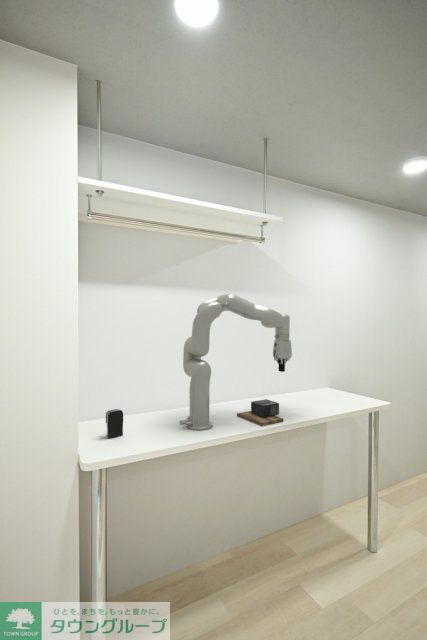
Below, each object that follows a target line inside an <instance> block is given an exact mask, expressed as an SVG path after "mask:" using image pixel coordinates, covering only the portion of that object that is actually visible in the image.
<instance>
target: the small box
mask: <svg viewBox="0 0 427 640" xmlns="http://www.w3.org/2000/svg"><path fill="white" fill-rule="evenodd" d="M250 411H251V413H253V414H255V415H258V416H261V417H269V416H279V415H280V403H279V402H277V401H273V400H270V399H261V400H253V401H250Z"/></svg>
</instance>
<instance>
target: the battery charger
mask: <svg viewBox="0 0 427 640" xmlns="http://www.w3.org/2000/svg"><path fill="white" fill-rule="evenodd" d="M105 424H106V438H107V439H114V438H118V437H121V435H122V436H123V435H124V431H123V430H124V411H123V410H122V409H119V408H117V409H111V410H108V411H106V413H105ZM117 436H118V437H117ZM113 437H114V438H113Z"/></svg>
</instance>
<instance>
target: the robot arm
mask: <svg viewBox="0 0 427 640" xmlns="http://www.w3.org/2000/svg"><path fill="white" fill-rule="evenodd" d="M224 312H230V313H234V314H236V315H238V316H240V317H242V318H244V319H247V320H252V321H253V320H254V321H260V324H261V325H262V326H263V327H264V328H267V329H272V328H273V329H274V328H275V330H274V331H275V332H274V333H275V335H274V341H273V347H272V357H273V361H275V362H277V364H278V372H282V373H283V372H286V364H287V362H288V361H290V360H291V358H292V357H293V353H292V352H293V351H292V350H293V348H292V342H291V339H290V331H291V330H290V326H291V325H290V324H291V323H290V315H289V314H282V313H280V312H278V311H276V310H274V309H271V308H270V307H267V306H263V305H259V304H256V303H253V302H252V301H249V300H247V299H246V298H242V297H240V296H238V295H237V294H233V293H226V294H221V295H219V296H216V297H213V298H212V299H210V300H209V299H208V300H207V301H204V302H201V303H200V304H199V305H198V307H197V310H196V313H197V314H196V315H195V316H194V319H193V321H192V329H191V336H189V337H188V338H187V339H186V340H185V342H184V345H183V352H182V353H183V359H182V364H183V365H182V366H183V372H184V373H185V375H186V376H188V377H189V378H190V382H189V389H188V390H189V416H187V418H186V419H183V420H181V419H180V421H179V424H180V425H181V426H182V425H185V426H186V428H187V429H189V430H192V431H205V430H210V429H211V428H213V425H214V424H213V422H212V421H210V386H211V376H212V367H211V365H210V363H209V362H207V361H206V360H204V359H202V357H206V356H207V355H208V353H209V351H210V339H211V338H210V337H211V336H210V334H211V333H210V331H211V327H212V323H213V322H214V320H216V319H218V318H219V317H220V316H221V315H222V313H224Z"/></svg>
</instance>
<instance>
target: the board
mask: <svg viewBox="0 0 427 640" xmlns="http://www.w3.org/2000/svg"><path fill="white" fill-rule="evenodd" d="M236 417H238V418H241V419H243V420H246V421H248V422H250V423H253V424H255V425H258V426H260V427H264V426H265V427H266V426H270V425H274V424H279V423H284V418H282V417H280V416H278V415H274V416H269V417H261V416H258V415H255V414H253V413H251V410H248V411H243V412H238V413H236Z"/></svg>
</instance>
